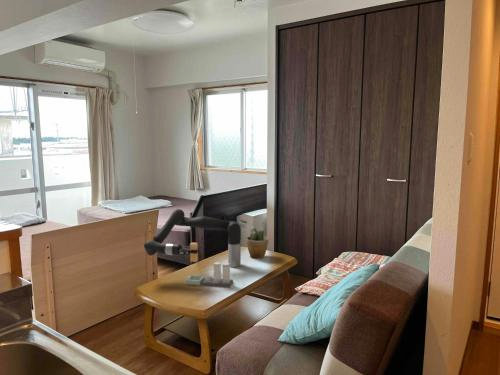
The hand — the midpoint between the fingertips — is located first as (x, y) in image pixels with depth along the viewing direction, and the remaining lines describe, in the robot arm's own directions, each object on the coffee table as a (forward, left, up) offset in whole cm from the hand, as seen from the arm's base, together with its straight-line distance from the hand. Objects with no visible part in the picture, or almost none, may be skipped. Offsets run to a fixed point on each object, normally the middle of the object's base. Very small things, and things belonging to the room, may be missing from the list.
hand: (198, 251), depth 247 cm
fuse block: (0, +13, -22) cm, 25 cm away
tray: (0, -3, -22) cm, 22 cm away
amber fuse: (0, -3, -7) cm, 8 cm away
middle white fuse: (0, +13, -20) cm, 23 cm away
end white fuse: (0, +19, -20) cm, 27 cm away
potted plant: (-62, +28, -22) cm, 72 cm away
